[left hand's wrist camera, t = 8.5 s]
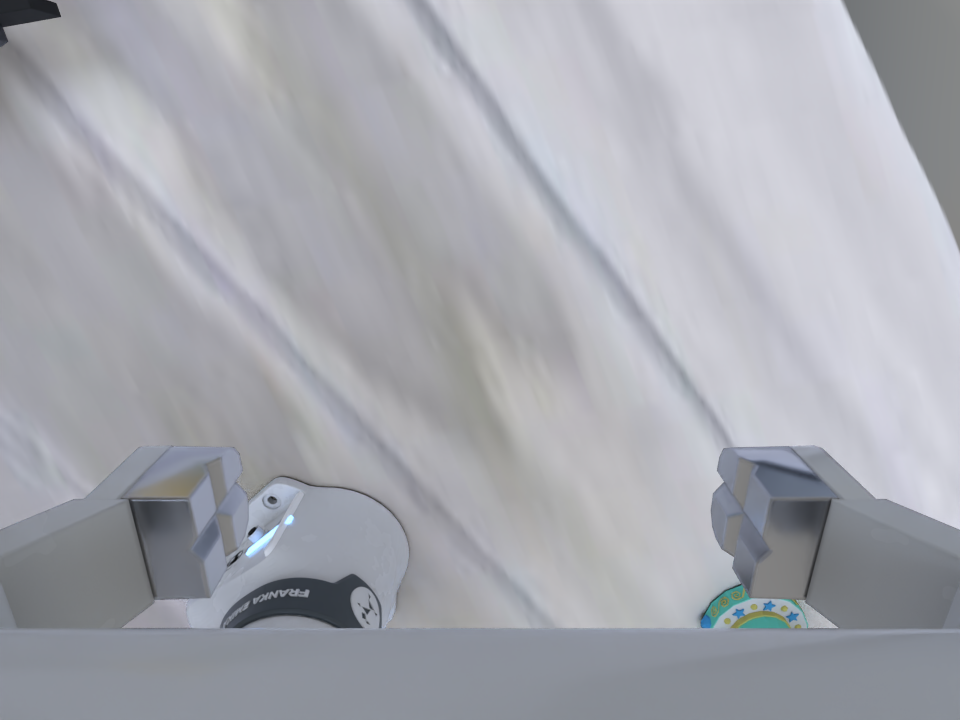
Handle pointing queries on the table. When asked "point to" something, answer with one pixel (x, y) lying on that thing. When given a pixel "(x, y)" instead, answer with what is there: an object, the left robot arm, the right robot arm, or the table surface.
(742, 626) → the decorative hourglass
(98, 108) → the table surface
